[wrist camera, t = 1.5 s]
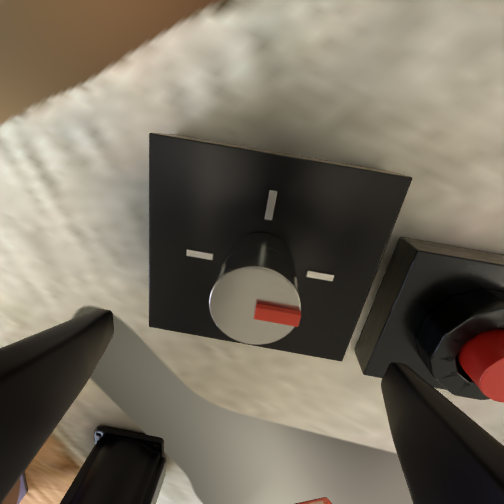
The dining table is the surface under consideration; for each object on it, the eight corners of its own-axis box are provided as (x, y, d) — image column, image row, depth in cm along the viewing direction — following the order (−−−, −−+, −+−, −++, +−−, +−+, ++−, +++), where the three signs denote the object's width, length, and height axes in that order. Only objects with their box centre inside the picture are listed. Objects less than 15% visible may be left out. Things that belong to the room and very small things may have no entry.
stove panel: (166, 300, 19) (147, 328, 16) (172, 134, 15) (147, 132, 12) (332, 329, 19) (342, 364, 16) (387, 170, 15) (415, 177, 12)
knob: (222, 287, 15) (202, 341, 11) (230, 226, 13) (211, 262, 9) (286, 299, 15) (290, 357, 11) (301, 238, 13) (312, 280, 9)
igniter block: (353, 350, 19) (372, 399, 16) (399, 236, 16) (437, 265, 12) (490, 375, 19) (541, 430, 16) (566, 265, 16) (656, 303, 12)
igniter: (447, 369, 15) (468, 396, 13) (474, 323, 14) (501, 347, 12) (504, 379, 15) (532, 408, 13) (537, 334, 14) (572, 360, 12)
